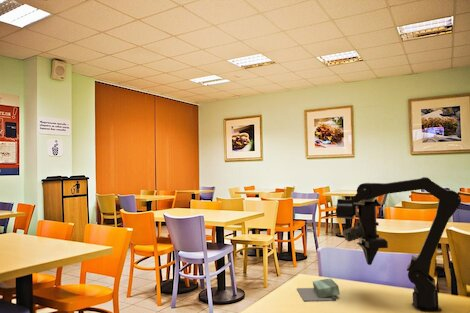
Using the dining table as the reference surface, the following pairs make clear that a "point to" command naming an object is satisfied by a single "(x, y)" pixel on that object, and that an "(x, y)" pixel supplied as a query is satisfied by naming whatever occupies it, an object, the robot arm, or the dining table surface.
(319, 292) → the grey-green rectangular block
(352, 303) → the dining table surface
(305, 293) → the slate board
